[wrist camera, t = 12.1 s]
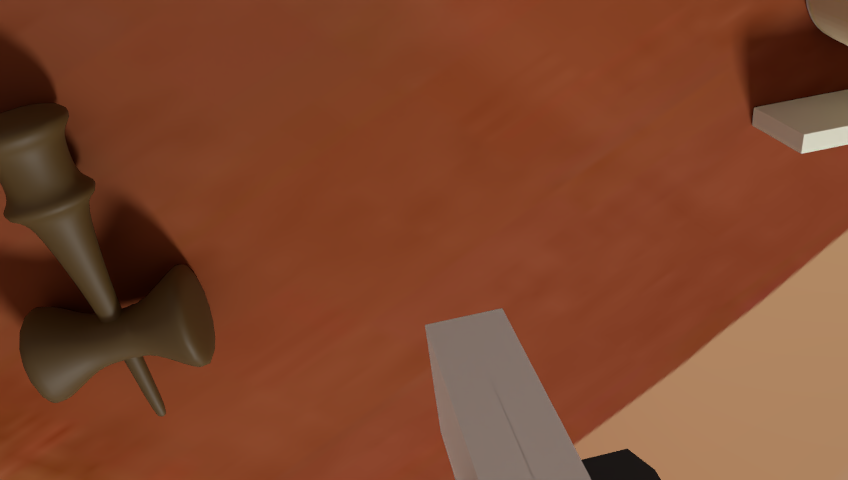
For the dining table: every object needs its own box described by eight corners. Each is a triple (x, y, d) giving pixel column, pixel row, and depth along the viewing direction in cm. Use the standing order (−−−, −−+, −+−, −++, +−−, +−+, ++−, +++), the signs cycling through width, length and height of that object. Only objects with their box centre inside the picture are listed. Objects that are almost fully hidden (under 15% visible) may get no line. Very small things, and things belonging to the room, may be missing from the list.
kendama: (116, 73, 39) (241, 365, 49) (-64, 121, 39) (98, 405, 48) (89, 106, 34) (235, 426, 44) (-120, 162, 34) (75, 472, 43)
